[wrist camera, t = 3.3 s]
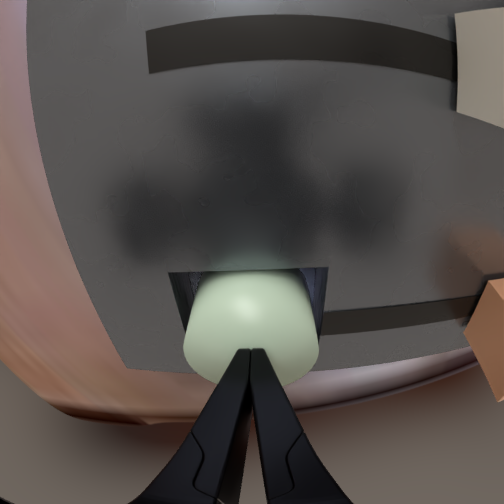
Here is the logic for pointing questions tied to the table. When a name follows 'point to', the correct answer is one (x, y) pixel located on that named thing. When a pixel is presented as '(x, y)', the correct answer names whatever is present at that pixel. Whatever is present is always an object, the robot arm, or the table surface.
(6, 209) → the table surface
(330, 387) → the table surface
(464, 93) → the slider
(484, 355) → the slider
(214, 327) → the button
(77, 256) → the panel
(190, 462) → the robot arm
